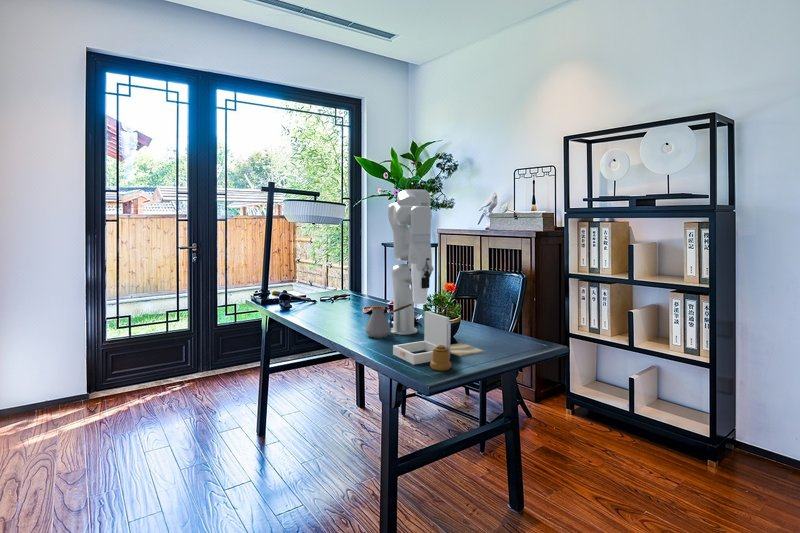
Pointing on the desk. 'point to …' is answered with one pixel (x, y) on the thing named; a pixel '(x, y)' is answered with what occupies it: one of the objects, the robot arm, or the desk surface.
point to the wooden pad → (464, 349)
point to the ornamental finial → (440, 359)
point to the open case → (426, 340)
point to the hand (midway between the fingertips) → (420, 286)
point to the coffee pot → (380, 322)
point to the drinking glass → (418, 285)
